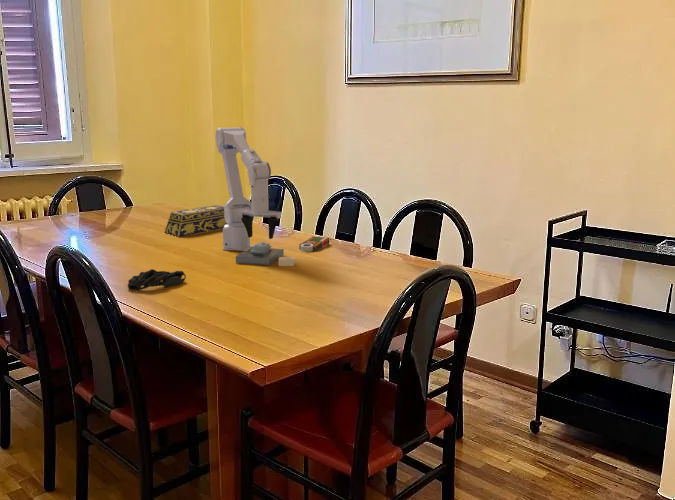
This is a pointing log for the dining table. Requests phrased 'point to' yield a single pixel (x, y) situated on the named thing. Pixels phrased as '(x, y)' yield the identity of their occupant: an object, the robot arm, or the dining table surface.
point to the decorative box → (195, 221)
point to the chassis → (259, 257)
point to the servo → (261, 248)
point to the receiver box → (286, 261)
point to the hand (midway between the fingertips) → (260, 237)
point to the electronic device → (314, 244)
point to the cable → (156, 279)
